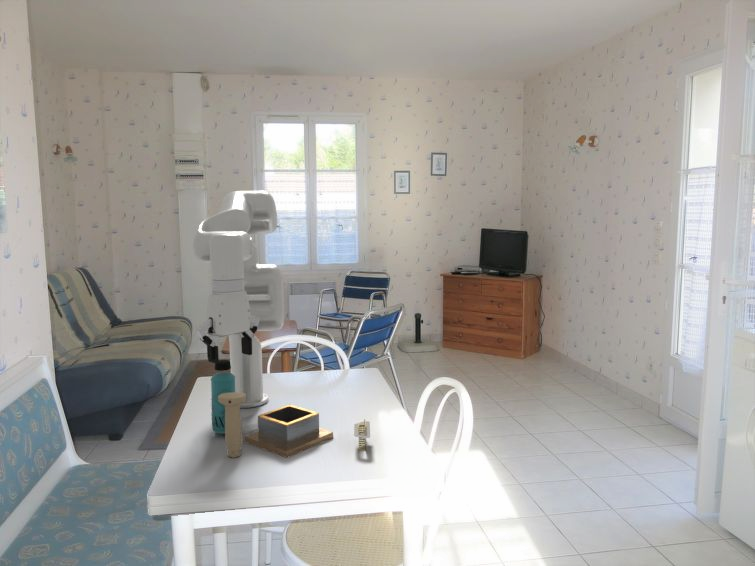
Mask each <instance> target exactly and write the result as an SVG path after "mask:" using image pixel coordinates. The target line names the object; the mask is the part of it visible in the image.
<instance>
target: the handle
mask: <svg viewBox="0 0 755 566" xmlns="http://www.w3.org/2000/svg"><path fill="white" fill-rule="evenodd" d="M245 400H246V394H245V393H240V392H230V393H223V394H220V395H219V396H218V402H219V403H221V404H223V405H225V433H224V441H225V446H226V450H227V451H226V455H227V456H228V457H230V458H233V459H234V458H238V457H240V456H241V454H242V446H243V428H242V420H241V410H240V409H241V408H240V404H241V403H243V402H244V401H245Z"/></svg>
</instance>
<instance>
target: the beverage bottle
mask: <svg viewBox="0 0 755 566" xmlns="http://www.w3.org/2000/svg"><path fill="white" fill-rule="evenodd" d="M214 370H215V371H217V372H216V373H214V374H213V375H212V376H211V377H210V385H211V386H210V387H211V388H210V391H211V394H210V395H211V398H210V400H211V428H212V431H213V433H216V434H225V405H223V404H221V403H219V402H218V396H219V395H220V394H223V393H230V392H236V391H235V376H234V375H233V374H232V373H231V371H229V370H231V364H230V360H229V359H219V362H218V363H214Z"/></svg>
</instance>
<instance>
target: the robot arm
mask: <svg viewBox="0 0 755 566" xmlns="http://www.w3.org/2000/svg"><path fill="white" fill-rule="evenodd" d="M277 227H278V213H277V206H276V202H275V199H274V197H273V195H272V194H271V193H270V192H268V191H265V190H235V191H230V192H229V193H227V194H226V195H225V196H224V197H223V200H222V202H221V207H220V209H219V210H218V212H217V213H216V214H214V215H211V216H209V217H207V218H205V219H204V220H202V221H201V222H200V223H199V224H198V226H197V227H196V230H195V233H194V237H193V242H192V251H193V255H194V257H195V258H196V260H197V261H198V262H201V263H209V267H210V268H209V271H210V290H211V291H210V292H208V294H207V299H206V305H205V306H206V307H205V322H203V323H201V325H200V326H198V327H196V330H195V331H196V334H197V335H198V337H199V340H200V341H202V342H203V344H204V346H206V355H207V360H208V362H209V363H212V364H215V363H218V362H219V360H220V359H219V358H220V357H219V347H218V345H217V344H218V343H219V340H220V338H222V337H228V342H229V343H228V344H229V359H230V360H229V361H230V364H231V369H230V373H232V374H233V375H234V376H235V391H236V392H240V393H245V394H246V400H245V401H244V402H243V403H241V404H240V409H241V408H242V409H245V408H247V409H249V408H255V407H260V406H262V405H265V404H266V403H268V402H269V396H268V394H267V393H265V392H264V384H263V383H264V381H263V378H264V377H263V355H262V354H263V353H262V351H263V350H262V344H261V341H260V340H259V338H258V337H257V336H256V335H255V334H256V332H264V331H265V332H268V331H270V332H272V331H279V330H281V329H282V328H283V326H284V324H285V304H284V303H285V299H284V279H283V272H282V270H281V267H279V266H278V265H277V264H272V263H270V264H269V263H263V264H260V263H259V262H258V259H259V258H258V248H257V247H258V246H257V245H256V244H255V243H254V242H255V241H254V239H253V238H252V236H251V235H261V234H262V235H266V234H272V233H275V231H276V229H277ZM248 296H250V297H252V296H266V297H268V299H249V297H248Z"/></svg>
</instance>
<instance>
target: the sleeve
mask: <svg viewBox="0 0 755 566" xmlns="http://www.w3.org/2000/svg"><path fill="white" fill-rule="evenodd" d="M319 413H320V412H316V411H314V410H310V409H307V408H303V407H300V406H296V405H294V404H288V405H284V406H282V407H278V408H276V409H273V410H269V411H266V412H264V413H261V414H258V415H257V430H256V431H253V432H252V433H248V434H246V435H244V441H243V442H244V443H247V444H249V445H252V446H255V447H257V448H261V449H263V450H266V451H268V452H271V453H274V454H277V455H279V456H281V457H284V458H289V457H291V456H294V455H296V454H299V453H302V452H303V451H305V450H308V449H311V448H312V447H315V446H317V445H319V444H321V443H324V442H326V441H329V440H331V439H333V438H334V431H332V430H328V429H324V428H321V427H320V414H319Z"/></svg>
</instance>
